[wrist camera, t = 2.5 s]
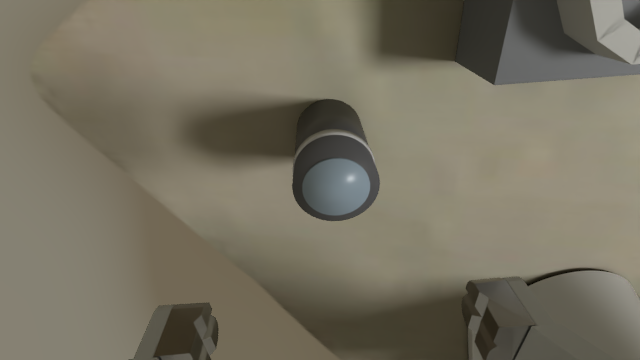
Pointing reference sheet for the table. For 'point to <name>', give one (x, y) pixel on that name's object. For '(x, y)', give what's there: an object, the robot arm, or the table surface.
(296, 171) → the lens
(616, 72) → the camera body
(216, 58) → the table surface
